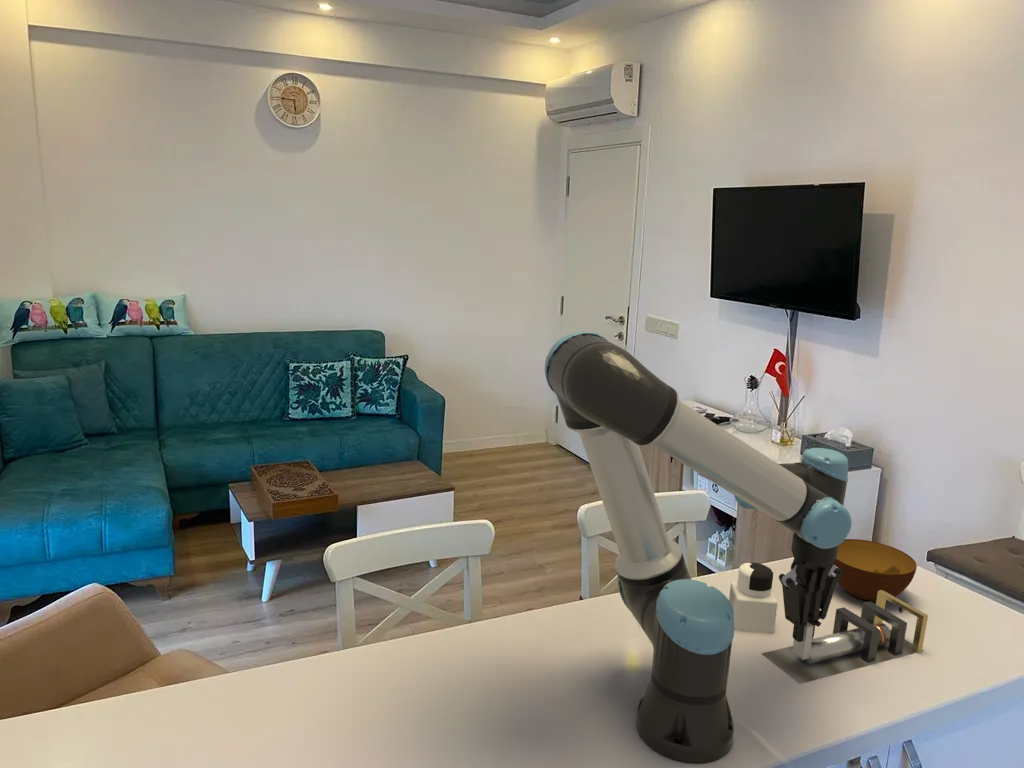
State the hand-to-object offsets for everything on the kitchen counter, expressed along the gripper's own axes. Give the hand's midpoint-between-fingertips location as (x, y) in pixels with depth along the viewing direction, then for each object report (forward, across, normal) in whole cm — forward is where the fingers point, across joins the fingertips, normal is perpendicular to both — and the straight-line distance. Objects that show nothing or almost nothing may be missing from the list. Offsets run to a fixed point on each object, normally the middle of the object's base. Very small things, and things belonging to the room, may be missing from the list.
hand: (800, 654), depth 137 cm
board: (+3, +11, 0) cm, 11 cm away
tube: (+2, +11, 0) cm, 11 cm away
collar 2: (+2, +20, 0) cm, 20 cm away
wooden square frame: (+2, +25, 0) cm, 25 cm away
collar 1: (+2, +13, 0) cm, 14 cm away
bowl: (+3, +34, +16) cm, 38 cm away
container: (+3, +1, +15) cm, 15 cm away
